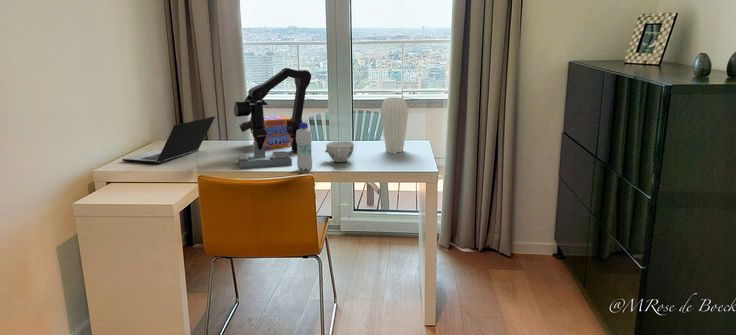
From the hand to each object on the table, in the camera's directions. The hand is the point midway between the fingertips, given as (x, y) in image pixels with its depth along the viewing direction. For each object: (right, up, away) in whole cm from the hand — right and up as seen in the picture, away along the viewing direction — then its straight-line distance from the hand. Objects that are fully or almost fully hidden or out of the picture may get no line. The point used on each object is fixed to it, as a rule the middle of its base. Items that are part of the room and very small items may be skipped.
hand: (259, 148), depth 253 cm
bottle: (+25, -10, -27) cm, 38 cm away
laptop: (-43, -4, +4) cm, 43 cm away
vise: (+6, -7, -14) cm, 17 cm away
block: (0, -4, +1) cm, 4 cm away
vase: (+64, -2, +9) cm, 65 cm away
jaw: (+12, -7, -12) cm, 18 cm away
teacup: (+39, -7, -11) cm, 41 cm away
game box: (+2, +1, +25) cm, 25 cm away
